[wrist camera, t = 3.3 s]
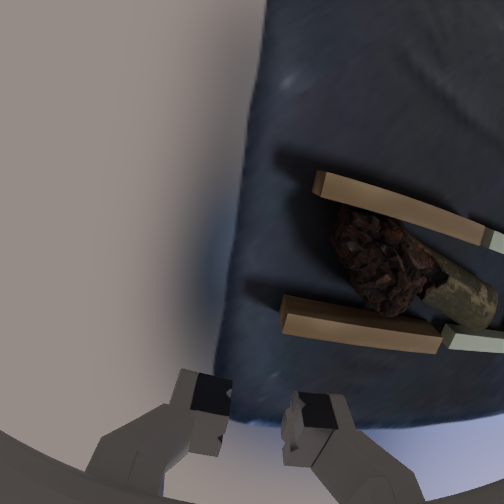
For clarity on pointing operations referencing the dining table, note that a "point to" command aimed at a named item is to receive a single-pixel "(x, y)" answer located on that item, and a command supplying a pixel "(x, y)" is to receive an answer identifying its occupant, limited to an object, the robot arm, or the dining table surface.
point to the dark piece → (407, 271)
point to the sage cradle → (486, 338)
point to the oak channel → (364, 321)
